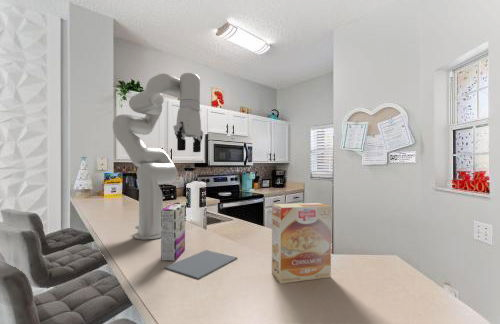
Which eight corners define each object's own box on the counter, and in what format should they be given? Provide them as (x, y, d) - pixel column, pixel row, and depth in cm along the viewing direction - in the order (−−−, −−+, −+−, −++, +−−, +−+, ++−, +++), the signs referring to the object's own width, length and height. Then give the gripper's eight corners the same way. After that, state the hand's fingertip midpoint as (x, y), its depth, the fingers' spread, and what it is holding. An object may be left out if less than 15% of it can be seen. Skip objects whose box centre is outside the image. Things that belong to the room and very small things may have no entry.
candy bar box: (171, 249, 90) (172, 204, 90) (185, 249, 90) (185, 204, 90) (159, 261, 79) (160, 209, 79) (175, 261, 79) (176, 209, 79)
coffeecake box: (280, 284, 63) (280, 207, 64) (270, 273, 70) (271, 203, 71) (332, 277, 67) (332, 205, 68) (318, 267, 74) (318, 201, 75)
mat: (164, 268, 73) (164, 266, 73) (206, 251, 88) (206, 250, 88) (198, 279, 66) (198, 277, 66) (237, 258, 81) (237, 257, 81)
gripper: (194, 112, 105) (194, 152, 105) (166, 102, 89) (166, 149, 89) (210, 110, 103) (209, 152, 102) (183, 100, 87) (183, 149, 86)
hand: (189, 151), depth 95 cm, fingers open, 9 cm apart
